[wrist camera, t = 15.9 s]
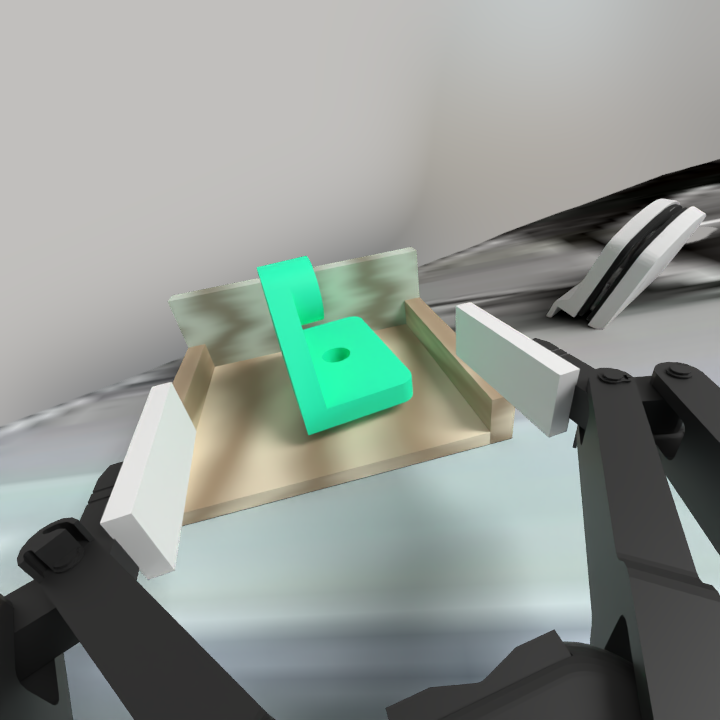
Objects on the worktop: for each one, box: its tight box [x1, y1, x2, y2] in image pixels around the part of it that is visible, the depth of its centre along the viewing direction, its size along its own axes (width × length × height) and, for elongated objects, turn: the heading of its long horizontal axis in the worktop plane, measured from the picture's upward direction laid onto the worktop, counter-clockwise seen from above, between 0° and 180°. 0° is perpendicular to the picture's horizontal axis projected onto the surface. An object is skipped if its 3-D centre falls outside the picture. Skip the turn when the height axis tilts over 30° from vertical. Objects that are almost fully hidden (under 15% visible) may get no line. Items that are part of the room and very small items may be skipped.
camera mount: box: [257, 256, 413, 435], centre depth 26 cm, size 12×8×10 cm, turn 19°
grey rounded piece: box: [546, 199, 706, 330], centre depth 34 cm, size 17×5×10 cm, turn 131°
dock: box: [168, 247, 515, 526], centre depth 27 cm, size 22×18×8 cm
